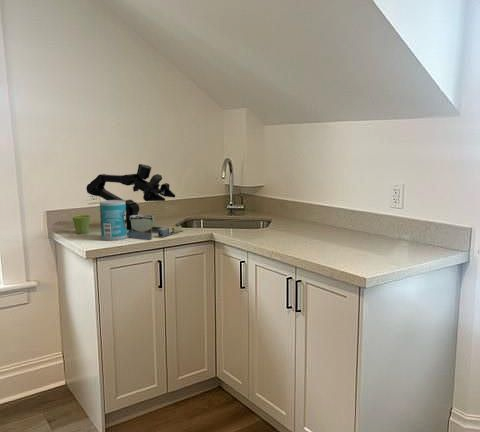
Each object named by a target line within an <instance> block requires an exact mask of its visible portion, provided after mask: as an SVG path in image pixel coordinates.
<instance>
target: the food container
mask: <svg viewBox="0 0 480 432" xmlns="http://www.w3.org/2000/svg"><path fill="white" fill-rule="evenodd" d="M129 220H131V227H132V231H135V232H144V233H151V235H152V236H153V232H152V226H154V225H153V222H154V221H155V217H154V216H153V215H152V214H138V215H132V216H130V219H129Z"/></svg>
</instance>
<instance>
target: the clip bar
mask: <svg viewBox="0 0 480 432" xmlns="http://www.w3.org/2000/svg"><path fill="white" fill-rule="evenodd" d="M179 231H182V225H180V224H177V225H176V226H174V227H171V232H172V233H176V232H179Z"/></svg>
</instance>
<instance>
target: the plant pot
mask: <svg viewBox="0 0 480 432" xmlns="http://www.w3.org/2000/svg"><path fill="white" fill-rule="evenodd" d="M71 219H72V221H73V225H74V230H75V234H76V235H84V234H86V235H87V234H88V233H89V232H90V229H89V228H90V219H91V215H89V214H78V215H73V216H71Z"/></svg>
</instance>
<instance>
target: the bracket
mask: <svg viewBox="0 0 480 432" xmlns="http://www.w3.org/2000/svg"><path fill="white" fill-rule="evenodd" d="M161 228H168V233H170V227H164V226H154V225H152V235H151V233H144V232H135V231H132V229H131V230H127V238H131V239H138V240H139V239H140V240H145V241H146V240H148V241H151V240H153V239H152V237H153V234H158V229H161Z"/></svg>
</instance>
